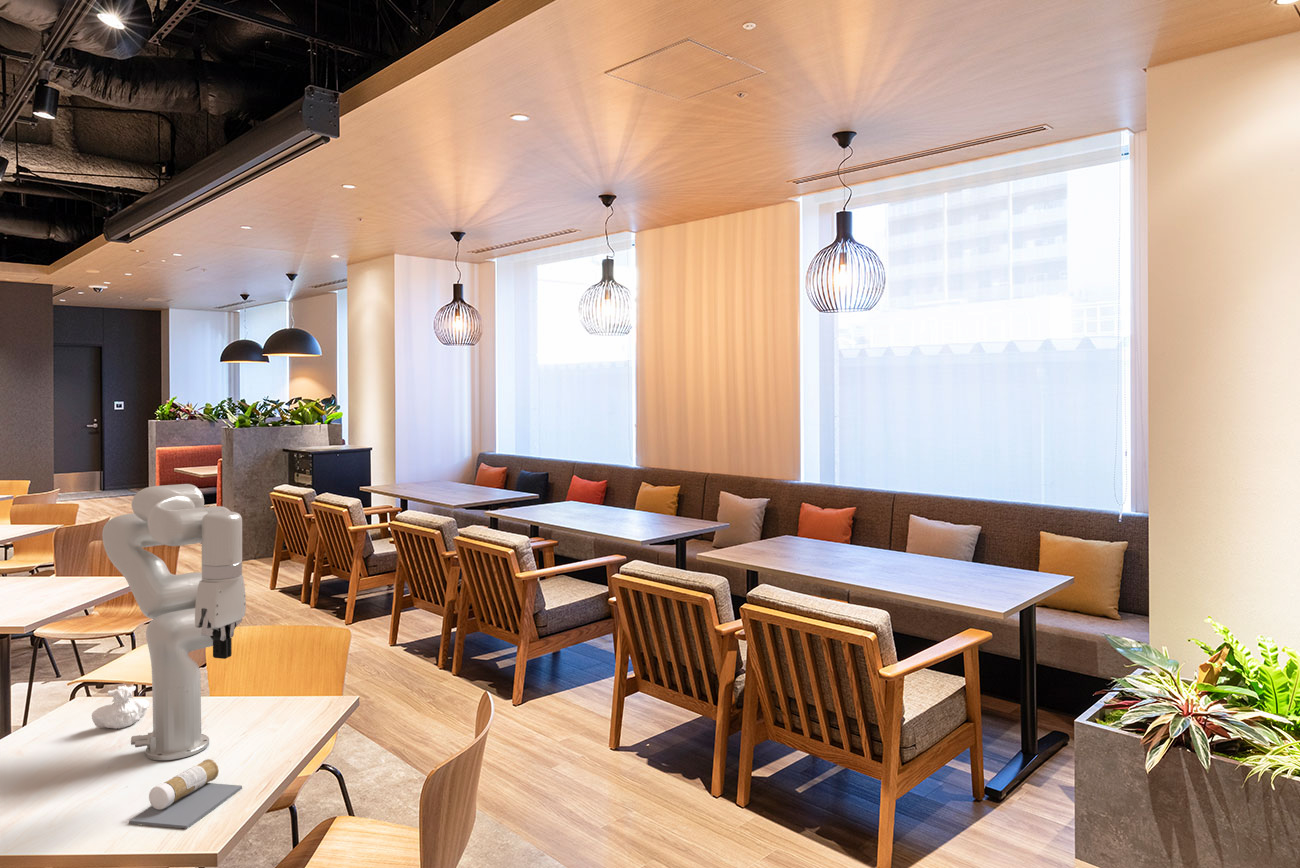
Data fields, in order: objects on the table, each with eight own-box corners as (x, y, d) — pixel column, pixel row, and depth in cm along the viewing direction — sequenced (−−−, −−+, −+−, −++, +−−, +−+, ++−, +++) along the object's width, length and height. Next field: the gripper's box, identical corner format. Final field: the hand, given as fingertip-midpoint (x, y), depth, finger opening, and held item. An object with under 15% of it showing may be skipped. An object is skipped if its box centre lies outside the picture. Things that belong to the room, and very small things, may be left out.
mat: (186, 829, 151) (186, 825, 151) (129, 823, 153) (129, 820, 153) (242, 788, 167) (242, 785, 167) (189, 784, 169) (189, 781, 169)
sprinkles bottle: (207, 783, 170) (153, 813, 157) (198, 762, 170) (144, 792, 157) (223, 775, 169) (170, 805, 156) (214, 754, 169) (161, 783, 156)
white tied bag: (92, 741, 194) (96, 713, 189) (88, 715, 199) (91, 687, 193) (150, 728, 202) (155, 700, 197) (144, 703, 207) (150, 675, 201)
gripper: (231, 562, 178) (231, 644, 179) (179, 577, 163) (179, 667, 164) (261, 564, 176) (261, 647, 177) (211, 580, 162) (212, 670, 163)
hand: (222, 656), depth 171 cm, fingers closed
